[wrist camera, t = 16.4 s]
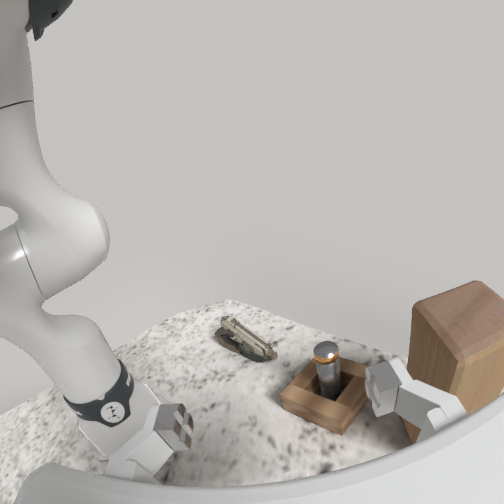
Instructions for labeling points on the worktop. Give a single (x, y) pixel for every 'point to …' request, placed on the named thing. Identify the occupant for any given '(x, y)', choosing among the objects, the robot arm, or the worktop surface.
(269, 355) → the futuristic pistol
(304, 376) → the bore block
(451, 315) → the wooden block
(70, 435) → the worktop surface
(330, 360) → the grey metal cylinder
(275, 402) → the worktop surface
